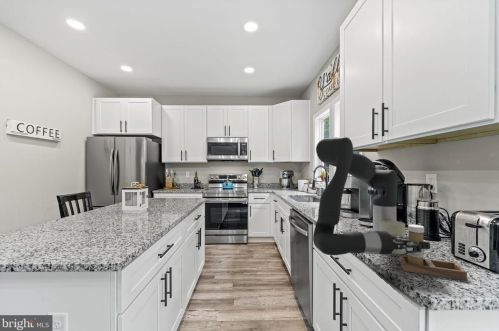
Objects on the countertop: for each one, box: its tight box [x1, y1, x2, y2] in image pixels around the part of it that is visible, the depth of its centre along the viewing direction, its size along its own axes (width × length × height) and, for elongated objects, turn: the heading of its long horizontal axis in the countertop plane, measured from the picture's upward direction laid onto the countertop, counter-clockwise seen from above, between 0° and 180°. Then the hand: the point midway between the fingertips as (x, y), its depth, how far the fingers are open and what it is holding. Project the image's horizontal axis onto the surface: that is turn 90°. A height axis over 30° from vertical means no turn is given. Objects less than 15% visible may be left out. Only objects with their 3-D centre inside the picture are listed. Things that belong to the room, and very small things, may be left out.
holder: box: [398, 254, 468, 281], centre depth 82 cm, size 8×16×2 cm, turn 66°
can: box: [380, 220, 406, 255], centre depth 102 cm, size 9×9×12 cm
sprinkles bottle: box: [407, 224, 425, 265], centre depth 83 cm, size 5×5×14 cm
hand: (423, 243), depth 83 cm, fingers closed on sprinkles bottle, 4 cm apart
